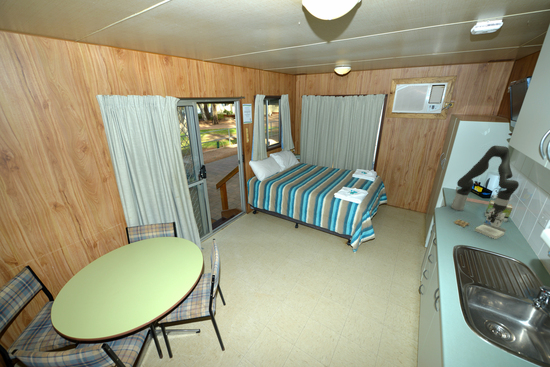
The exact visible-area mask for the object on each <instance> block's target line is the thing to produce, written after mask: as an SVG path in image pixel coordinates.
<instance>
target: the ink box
mask: <svg viewBox="0 0 550 367" xmlns="http://www.w3.org/2000/svg"><path fill="white" fill-rule="evenodd" d="M493 211H494V210H490V211H489V214H488V216H487V217H486V218H485V221H484V222H485V223H487V224H490V225H492V226H495V227H501V226H502V223H503V222H504V221H503V219H504V216H505V214H504V213H500V214H498V216H497V217H496V219H495V221H494V223H492V222H490V221H491V218H490V217H491V213H492V212H493ZM493 217H494V216H493Z"/></svg>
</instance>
